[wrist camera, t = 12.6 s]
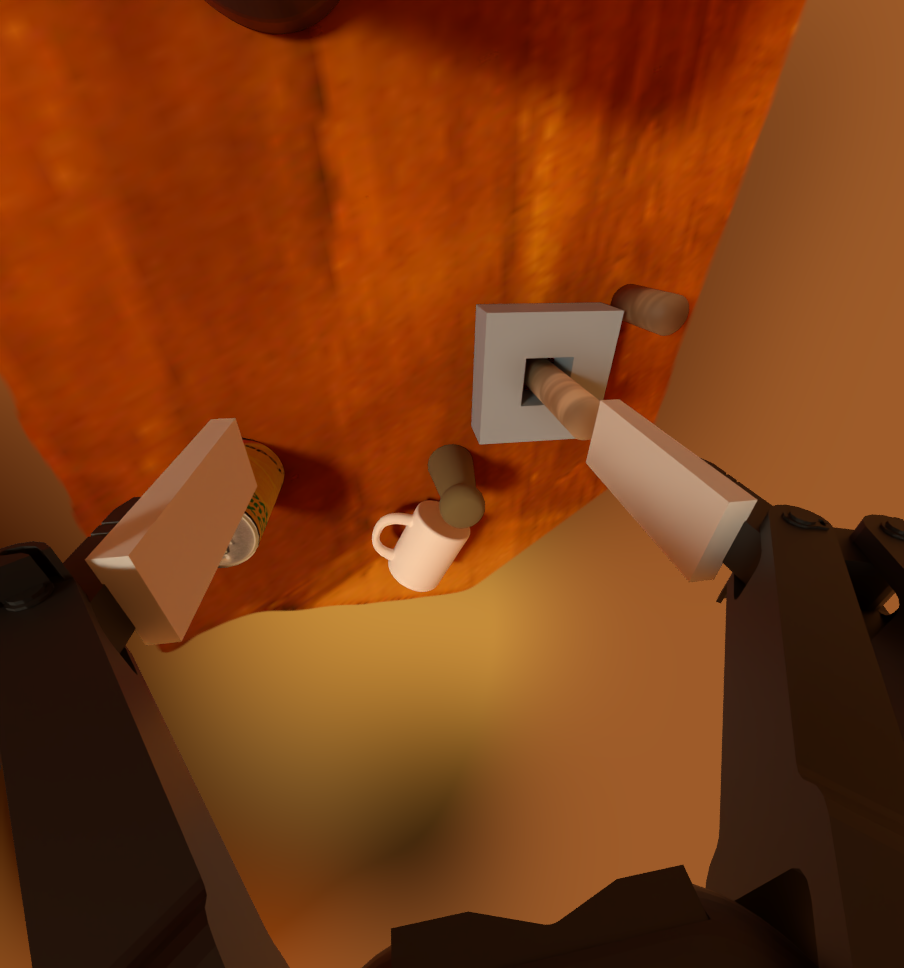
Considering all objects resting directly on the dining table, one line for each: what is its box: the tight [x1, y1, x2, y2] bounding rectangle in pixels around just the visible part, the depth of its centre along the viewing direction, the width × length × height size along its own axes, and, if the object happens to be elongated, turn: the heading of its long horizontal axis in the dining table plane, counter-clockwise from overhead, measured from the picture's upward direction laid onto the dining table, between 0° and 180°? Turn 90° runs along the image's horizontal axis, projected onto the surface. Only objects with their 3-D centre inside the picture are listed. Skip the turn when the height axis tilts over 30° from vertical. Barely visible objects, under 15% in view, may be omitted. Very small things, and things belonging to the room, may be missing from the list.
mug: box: [372, 500, 470, 592], centre depth 52 cm, size 12×10×8 cm
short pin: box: [611, 284, 689, 336], centre depth 40 cm, size 4×4×8 cm
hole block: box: [471, 303, 624, 444], centre depth 43 cm, size 14×14×5 cm
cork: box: [428, 444, 485, 528], centre depth 47 cm, size 6×6×11 cm
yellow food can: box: [218, 438, 284, 568], centre depth 42 cm, size 9×9×12 cm
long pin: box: [524, 358, 600, 440], centre depth 39 cm, size 4×4×15 cm
